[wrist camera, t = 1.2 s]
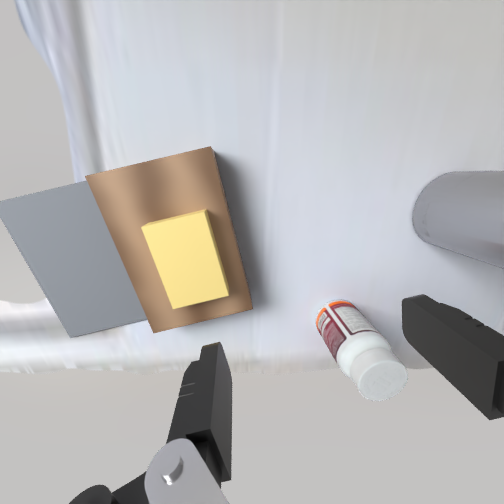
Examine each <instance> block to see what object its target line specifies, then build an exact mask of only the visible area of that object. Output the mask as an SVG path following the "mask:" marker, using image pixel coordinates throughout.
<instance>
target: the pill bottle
mask: <svg viewBox="0 0 504 504" xmlns="http://www.w3.org/2000/svg"><path fill="white" fill-rule="evenodd" d="M316 327H317V329H318V331H319V333H320V335H321V336H322V338H323V340H324V342H325V343H326V345H327V347H328V348H329V350H330V352H331V354H332V356H333V357H334V359H335V361H336V363H337V364H338V366H339V368H340V369H341V371H342V372H343V373H344V374H345V375H346V376H347V377H349V378H351V379H352V381H353V383H354V384H355V386H356V387H357V389H358V391H359V392H360V394H361V395H362V396H363V397H364V398H366V399H368V400H371V401H383V400H387V399H390V398H392V397H394V396H395V395H397V394H398V393H399V392H400V391H401V390H402V389H403V388H404V386H405V385H406V382H407V380H408V372H407V369H406V367H405V366H404V365H403V364H402V362H401V361H400V360H399V359H398V358H397V357H396V355H395V354H394V353H393V352H392V349H391V346H390V344H389V343H388V341H387V340H386V339H385V338H384V337H383V336H382V335H381V334H380V333H379V332H378V331H377V329H376V328H375V327H374V326H373V325H372V324H371V323H370V322H369V321H368V320H367V319H366V318H365V317H364V316H363V315H362V314H361V313H360V312H359V311H358V310H357V308H355V306H353V305H352V304H351V303H350V302H348V301H345V300H333V301H330V302H328V303H326V304H325V305H324V306H322V307H321V308H320V310H319V311H318V313H317V316H316Z"/></svg>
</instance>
